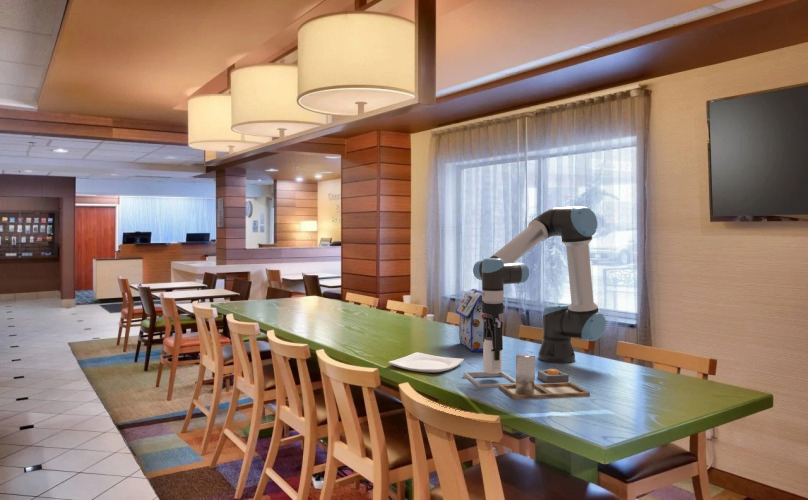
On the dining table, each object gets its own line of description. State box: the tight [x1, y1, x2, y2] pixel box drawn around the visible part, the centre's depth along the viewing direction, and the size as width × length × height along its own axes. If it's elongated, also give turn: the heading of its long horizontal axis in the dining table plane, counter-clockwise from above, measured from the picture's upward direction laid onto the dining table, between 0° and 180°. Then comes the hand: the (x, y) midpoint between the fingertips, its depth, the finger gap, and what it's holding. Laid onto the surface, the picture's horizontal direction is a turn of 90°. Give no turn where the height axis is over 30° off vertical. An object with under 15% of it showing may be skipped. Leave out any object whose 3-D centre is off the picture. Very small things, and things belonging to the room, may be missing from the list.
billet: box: [515, 353, 536, 395], centre depth 184 cm, size 6×6×12 cm
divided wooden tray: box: [498, 381, 591, 400], centre depth 185 cm, size 26×13×2 cm, turn 101°
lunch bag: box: [455, 288, 487, 353], centre depth 262 cm, size 23×17×27 cm
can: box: [482, 337, 503, 374], centre depth 200 cm, size 6×6×12 cm
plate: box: [388, 351, 465, 374], centre depth 224 cm, size 24×24×3 cm
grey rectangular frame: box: [462, 370, 516, 389], centre depth 200 cm, size 15×18×2 cm
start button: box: [546, 368, 560, 375], centre depth 201 cm, size 4×4×4 cm
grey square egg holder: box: [537, 369, 570, 383], centre depth 201 cm, size 8×8×4 cm
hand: (492, 366), depth 200 cm, fingers closed on can, 6 cm apart
